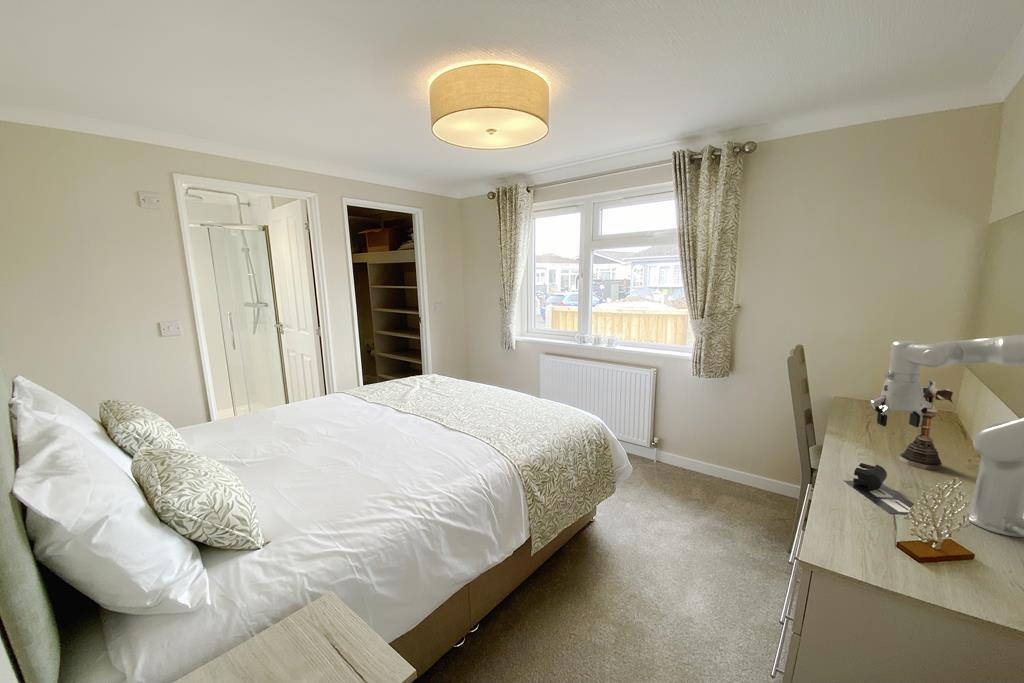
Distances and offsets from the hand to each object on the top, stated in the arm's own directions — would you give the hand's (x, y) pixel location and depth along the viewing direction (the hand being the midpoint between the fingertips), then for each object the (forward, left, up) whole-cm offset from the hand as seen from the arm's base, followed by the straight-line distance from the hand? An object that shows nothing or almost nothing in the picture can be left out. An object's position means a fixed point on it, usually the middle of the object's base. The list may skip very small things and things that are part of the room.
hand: (897, 425), depth 134 cm
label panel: (-8, +7, -23) cm, 25 cm away
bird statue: (+21, -27, -23) cm, 41 cm away
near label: (-13, +7, -23) cm, 27 cm away
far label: (-3, +7, -23) cm, 24 cm away
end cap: (-1, +7, -23) cm, 24 cm away
